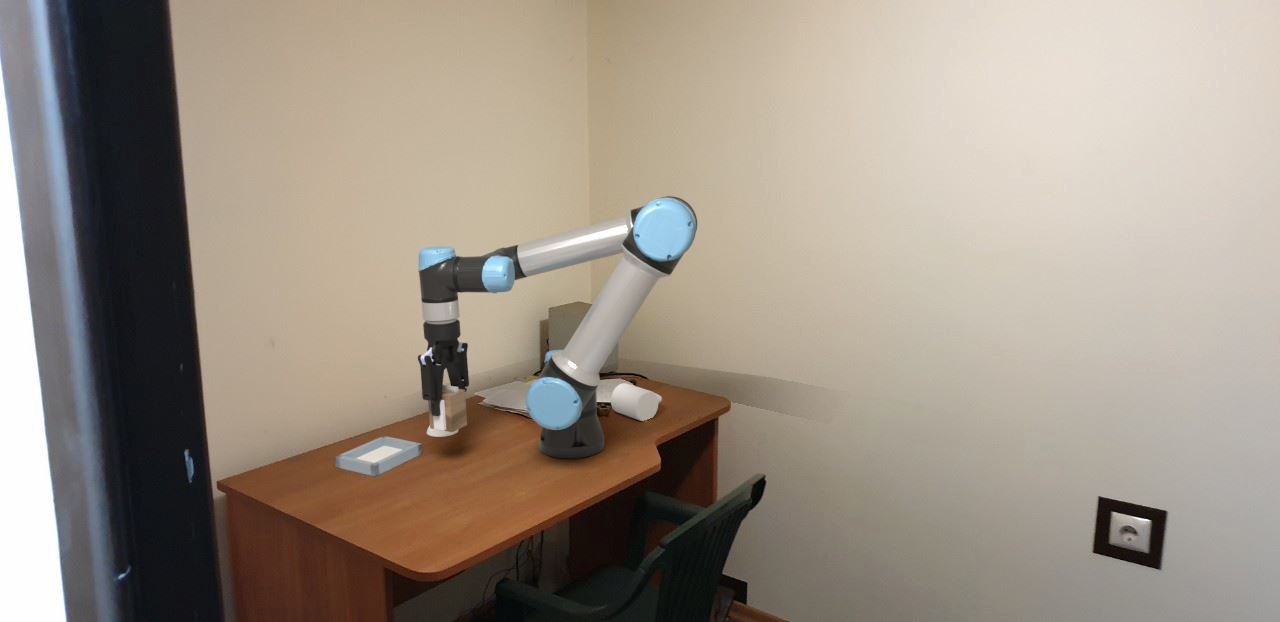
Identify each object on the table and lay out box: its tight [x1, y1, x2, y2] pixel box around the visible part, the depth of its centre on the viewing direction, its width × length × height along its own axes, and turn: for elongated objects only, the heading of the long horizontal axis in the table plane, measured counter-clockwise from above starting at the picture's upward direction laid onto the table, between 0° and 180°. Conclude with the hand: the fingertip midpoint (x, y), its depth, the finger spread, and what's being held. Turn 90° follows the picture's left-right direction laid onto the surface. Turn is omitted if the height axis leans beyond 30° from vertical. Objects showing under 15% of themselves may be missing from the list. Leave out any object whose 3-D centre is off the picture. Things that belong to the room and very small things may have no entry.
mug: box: [610, 382, 663, 422], centre depth 202 cm, size 12×10×8 cm
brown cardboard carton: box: [427, 384, 468, 432], centre depth 166 cm, size 6×5×9 cm
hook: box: [426, 425, 459, 438], centre depth 191 cm, size 8×12×7 cm
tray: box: [334, 435, 423, 477], centre depth 171 cm, size 11×14×2 cm
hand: (449, 424), depth 167 cm, fingers closed on brown cardboard carton, 5 cm apart
